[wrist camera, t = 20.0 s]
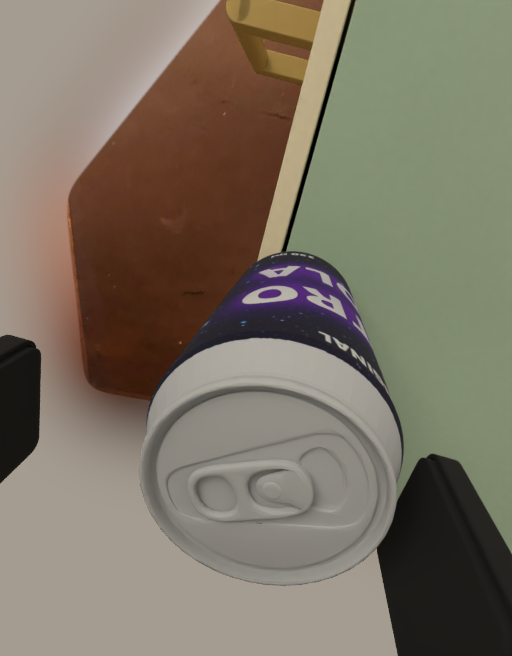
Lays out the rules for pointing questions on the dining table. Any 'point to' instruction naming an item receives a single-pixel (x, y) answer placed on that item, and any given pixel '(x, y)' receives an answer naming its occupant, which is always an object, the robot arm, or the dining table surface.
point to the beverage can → (275, 432)
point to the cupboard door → (314, 75)
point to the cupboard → (426, 222)
